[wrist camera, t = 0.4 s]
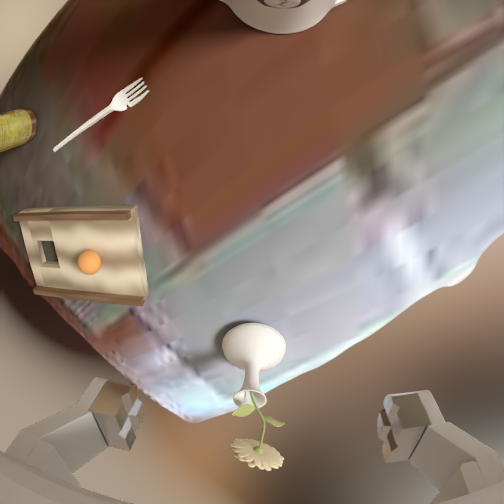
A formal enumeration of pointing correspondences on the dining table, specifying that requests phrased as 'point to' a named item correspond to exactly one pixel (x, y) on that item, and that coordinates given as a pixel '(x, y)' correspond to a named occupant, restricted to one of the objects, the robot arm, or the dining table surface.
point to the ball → (89, 262)
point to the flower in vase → (254, 384)
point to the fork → (110, 108)
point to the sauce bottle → (16, 128)
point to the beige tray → (79, 240)
